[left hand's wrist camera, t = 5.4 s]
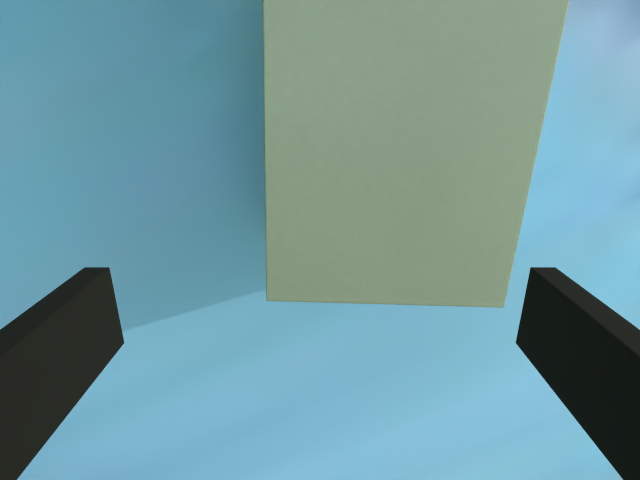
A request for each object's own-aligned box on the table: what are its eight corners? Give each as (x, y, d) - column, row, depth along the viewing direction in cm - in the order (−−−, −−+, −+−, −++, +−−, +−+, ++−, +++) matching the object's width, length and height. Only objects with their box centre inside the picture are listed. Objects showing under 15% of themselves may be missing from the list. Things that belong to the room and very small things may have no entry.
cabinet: (285, -112, 22) (259, -272, 12) (492, -102, 22) (624, -253, 13) (283, 233, 29) (266, 301, 19) (442, 237, 29) (504, 307, 19)
